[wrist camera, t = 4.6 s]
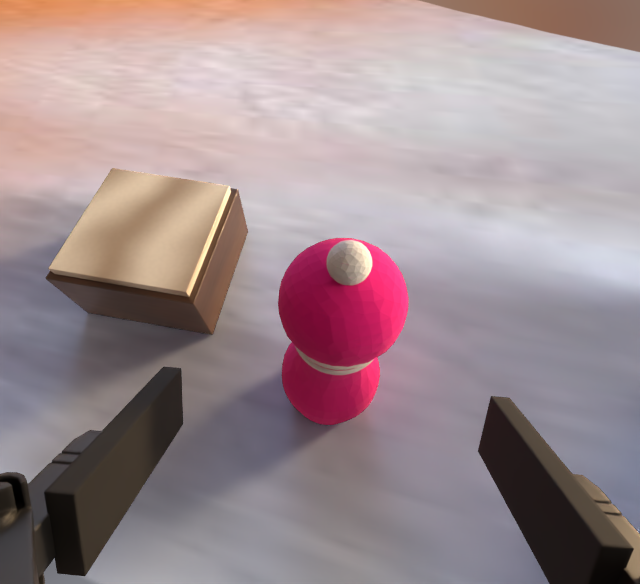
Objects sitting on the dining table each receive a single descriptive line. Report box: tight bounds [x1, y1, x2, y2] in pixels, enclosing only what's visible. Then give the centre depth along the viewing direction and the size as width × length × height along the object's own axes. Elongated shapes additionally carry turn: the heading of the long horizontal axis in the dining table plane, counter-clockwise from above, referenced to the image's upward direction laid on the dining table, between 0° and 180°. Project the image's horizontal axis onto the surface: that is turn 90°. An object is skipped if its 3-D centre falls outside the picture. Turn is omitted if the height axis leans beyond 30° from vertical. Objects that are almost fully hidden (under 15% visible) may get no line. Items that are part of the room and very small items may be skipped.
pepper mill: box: [278, 238, 408, 425], centre depth 22 cm, size 7×7×20 cm
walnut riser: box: [46, 168, 248, 335], centre depth 33 cm, size 12×12×7 cm
